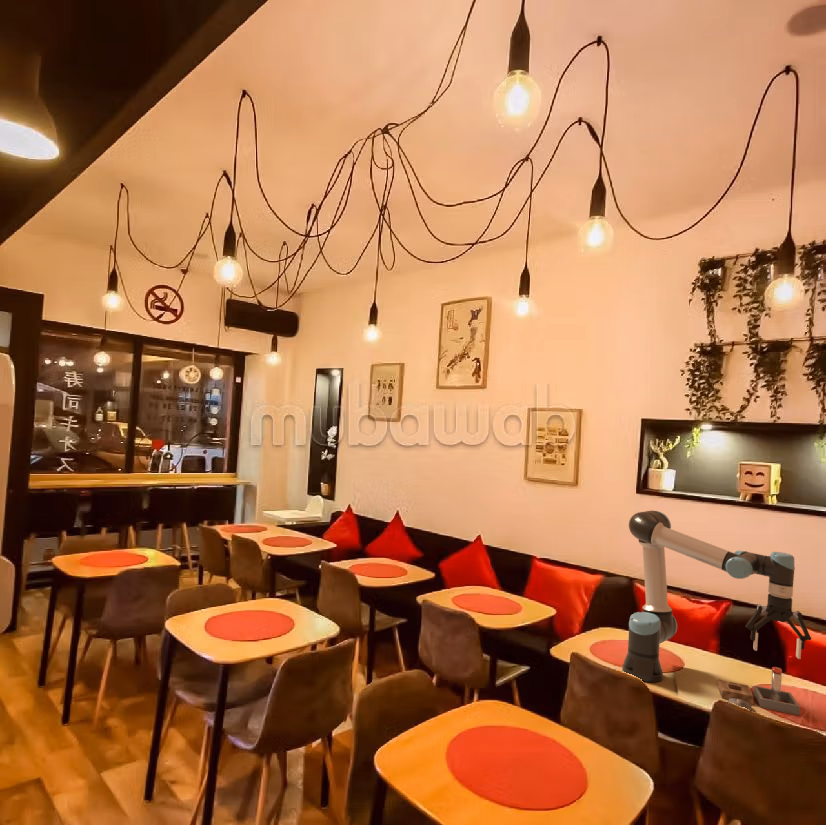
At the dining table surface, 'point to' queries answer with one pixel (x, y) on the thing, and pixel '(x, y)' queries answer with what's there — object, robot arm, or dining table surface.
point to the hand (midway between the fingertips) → (776, 653)
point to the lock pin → (776, 684)
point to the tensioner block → (736, 693)
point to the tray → (788, 707)
